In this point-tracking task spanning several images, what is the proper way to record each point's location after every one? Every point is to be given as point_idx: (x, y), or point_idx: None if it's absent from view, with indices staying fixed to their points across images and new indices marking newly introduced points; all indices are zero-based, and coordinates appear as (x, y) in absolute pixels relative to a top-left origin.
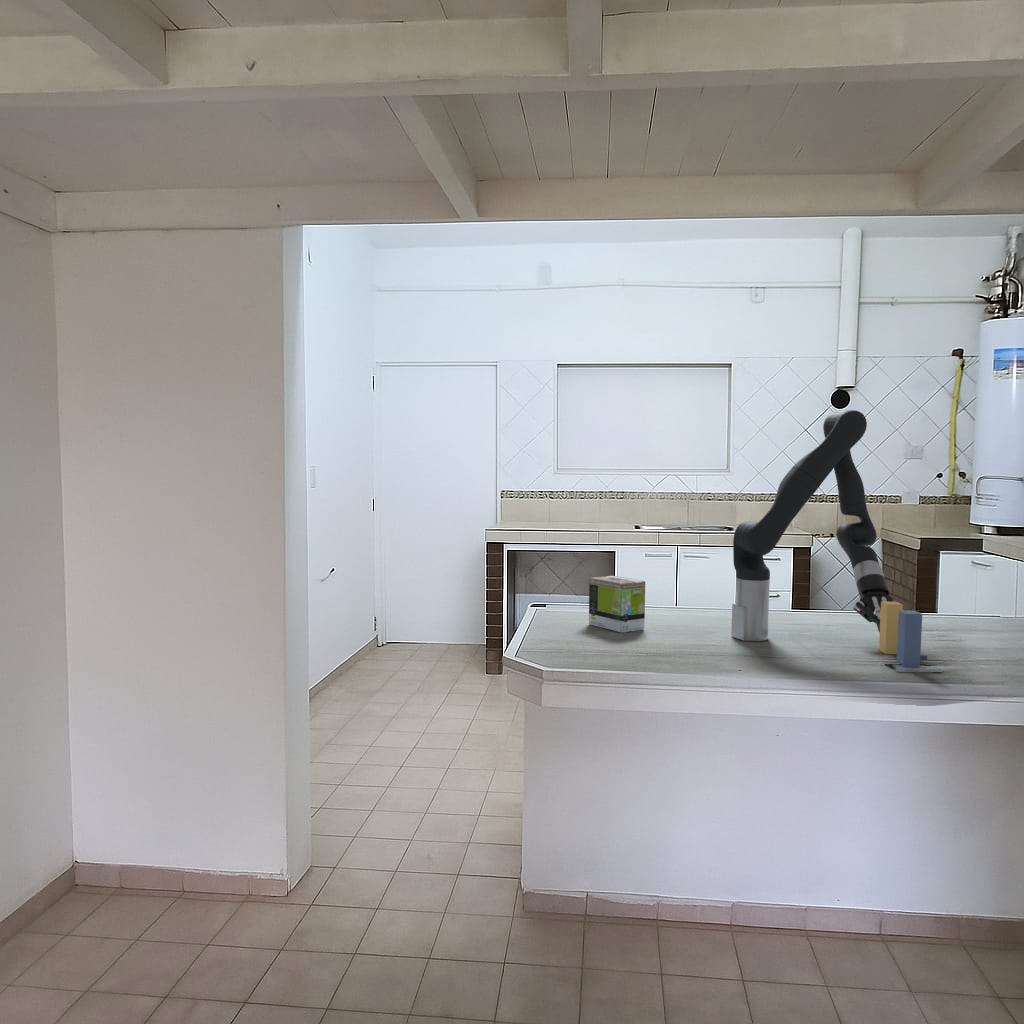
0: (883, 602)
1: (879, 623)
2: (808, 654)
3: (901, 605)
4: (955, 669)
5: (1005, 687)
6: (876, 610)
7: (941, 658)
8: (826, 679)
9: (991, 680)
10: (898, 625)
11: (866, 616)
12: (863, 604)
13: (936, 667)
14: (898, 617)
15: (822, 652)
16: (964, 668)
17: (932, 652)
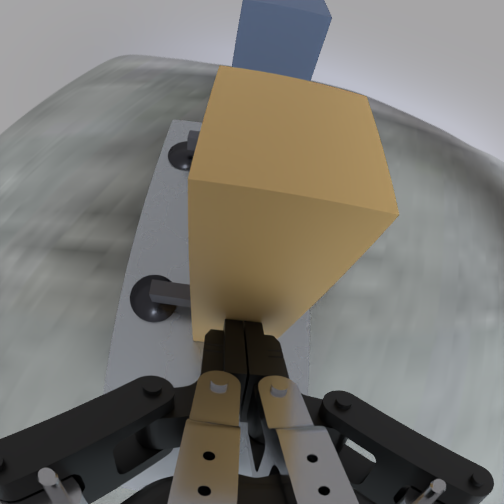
0: (384, 159)
1: (282, 372)
2: (483, 343)
3: (232, 75)
4: (106, 152)
5: (125, 59)
6: (321, 427)
7: (39, 273)
8: (448, 142)
9: (107, 86)
10: (310, 77)
11: (356, 466)
12: (439, 488)
13: (181, 128)
14: (321, 47)
15: (450, 376)
16: (72, 160)
17: (9, 364)
